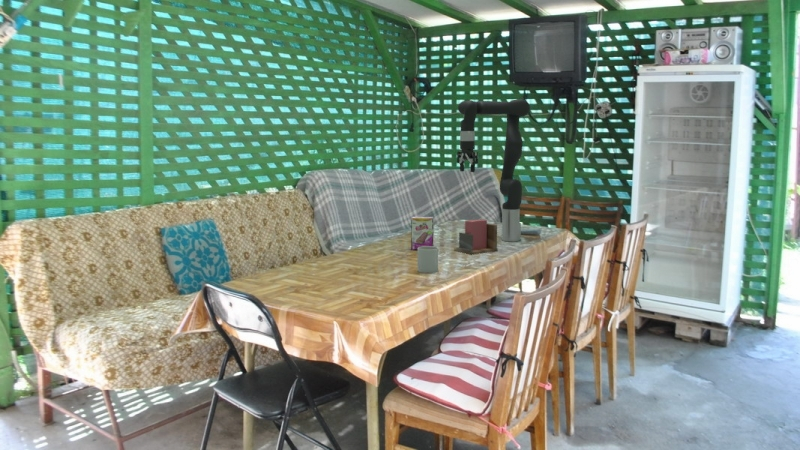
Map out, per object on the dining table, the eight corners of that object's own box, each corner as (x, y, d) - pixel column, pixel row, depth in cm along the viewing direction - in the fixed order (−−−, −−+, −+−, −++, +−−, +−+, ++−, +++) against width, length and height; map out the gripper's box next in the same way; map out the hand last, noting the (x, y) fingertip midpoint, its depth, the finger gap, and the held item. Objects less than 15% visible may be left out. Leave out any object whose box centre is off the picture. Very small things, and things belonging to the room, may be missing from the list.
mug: (423, 273, 282) (423, 250, 281) (413, 269, 291) (413, 247, 289) (446, 271, 287) (446, 248, 286) (434, 267, 296) (434, 244, 294)
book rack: (480, 247, 343) (480, 222, 341) (497, 251, 332) (497, 225, 331) (454, 250, 334) (454, 224, 332) (470, 254, 323) (470, 228, 321)
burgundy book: (480, 246, 338) (480, 219, 336) (486, 248, 334) (486, 220, 332) (465, 248, 332) (465, 220, 330) (470, 250, 328) (471, 222, 326)
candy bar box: (411, 250, 337) (410, 217, 334) (411, 248, 342) (411, 216, 339) (433, 250, 336) (433, 217, 333) (433, 248, 341) (433, 216, 338)
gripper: (482, 140, 340) (481, 172, 342) (464, 139, 352) (464, 170, 354) (470, 140, 336) (470, 172, 338) (453, 140, 348) (453, 171, 350)
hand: (467, 171), depth 346 cm, fingers open, 8 cm apart
